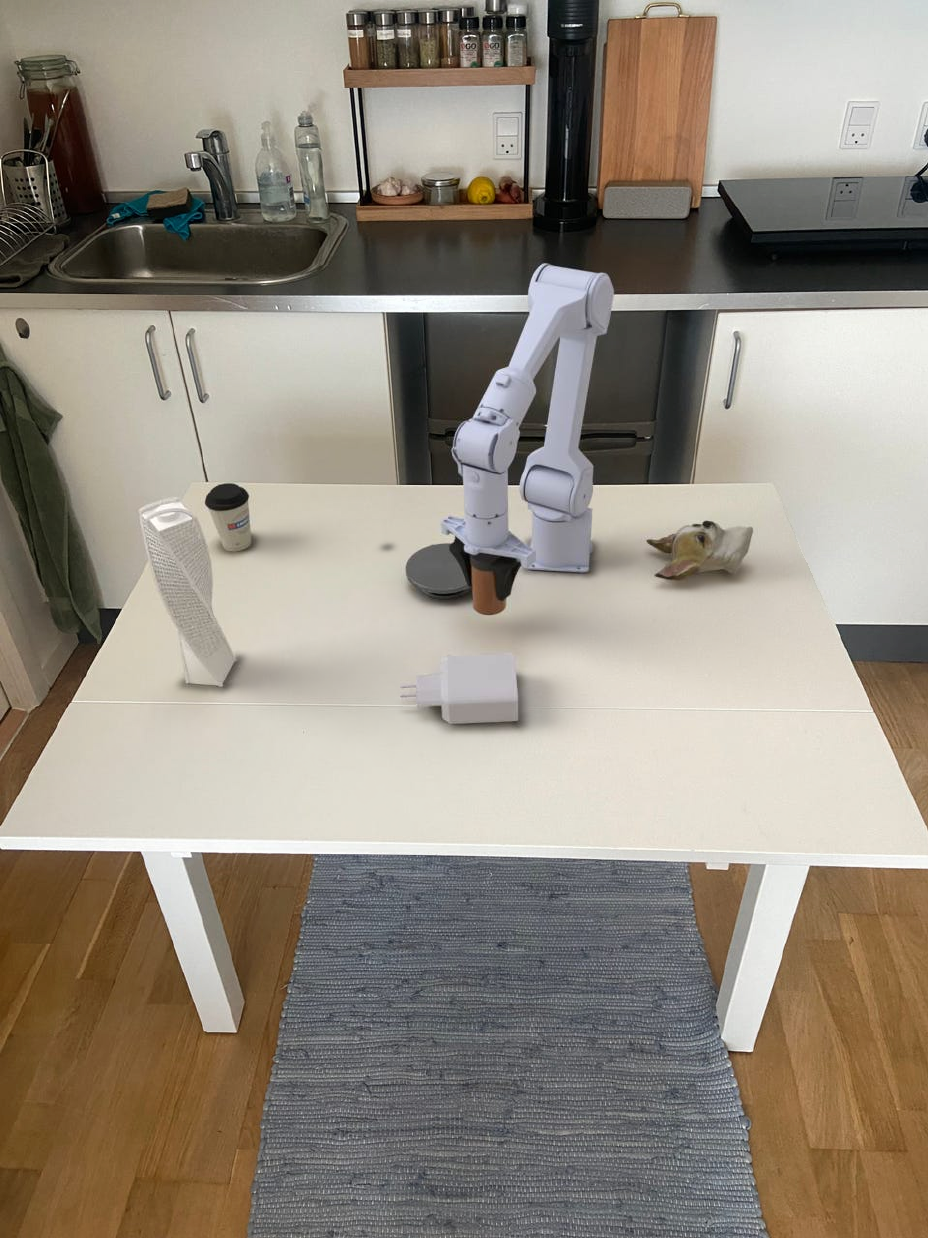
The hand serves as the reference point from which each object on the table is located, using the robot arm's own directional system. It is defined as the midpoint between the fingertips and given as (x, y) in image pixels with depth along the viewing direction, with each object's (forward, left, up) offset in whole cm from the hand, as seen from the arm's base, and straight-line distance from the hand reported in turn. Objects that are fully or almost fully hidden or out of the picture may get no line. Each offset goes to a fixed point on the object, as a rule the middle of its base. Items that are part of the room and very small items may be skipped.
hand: (488, 590), depth 131 cm
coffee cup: (+44, -17, -7) cm, 48 cm away
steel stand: (+8, -10, -7) cm, 14 cm away
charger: (+2, +16, -7) cm, 18 cm away
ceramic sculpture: (-30, -17, -7) cm, 35 cm away
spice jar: (0, 0, -3) cm, 3 cm away
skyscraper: (+37, +14, -7) cm, 40 cm away
